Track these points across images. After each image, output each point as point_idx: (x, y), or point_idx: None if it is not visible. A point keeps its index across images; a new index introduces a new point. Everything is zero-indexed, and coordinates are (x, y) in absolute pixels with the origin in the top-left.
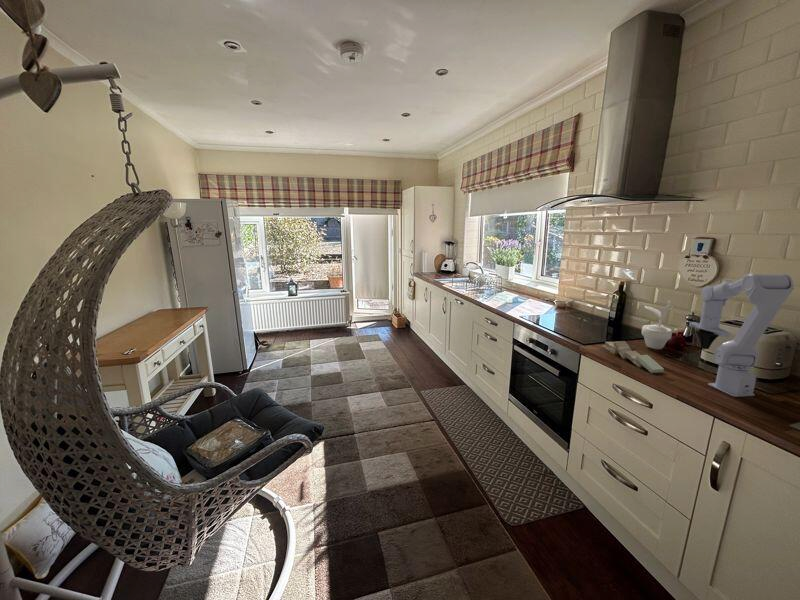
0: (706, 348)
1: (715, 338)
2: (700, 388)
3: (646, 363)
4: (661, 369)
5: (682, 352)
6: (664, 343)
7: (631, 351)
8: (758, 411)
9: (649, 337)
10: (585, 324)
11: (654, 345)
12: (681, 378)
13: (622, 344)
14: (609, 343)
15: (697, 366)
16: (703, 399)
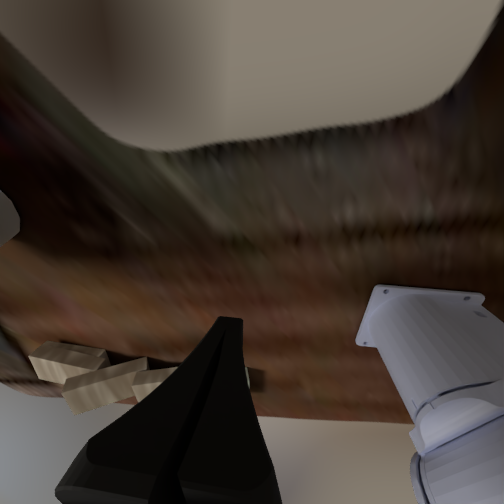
0: (242, 337)
1: (255, 417)
2: (361, 370)
3: None
4: (248, 383)
5: (30, 125)
6: None
7: (136, 395)
8: None
9: None
10: None
11: (5, 241)
12: (294, 359)
13: (86, 397)
14: (54, 379)
15: (214, 230)
16: (404, 408)
